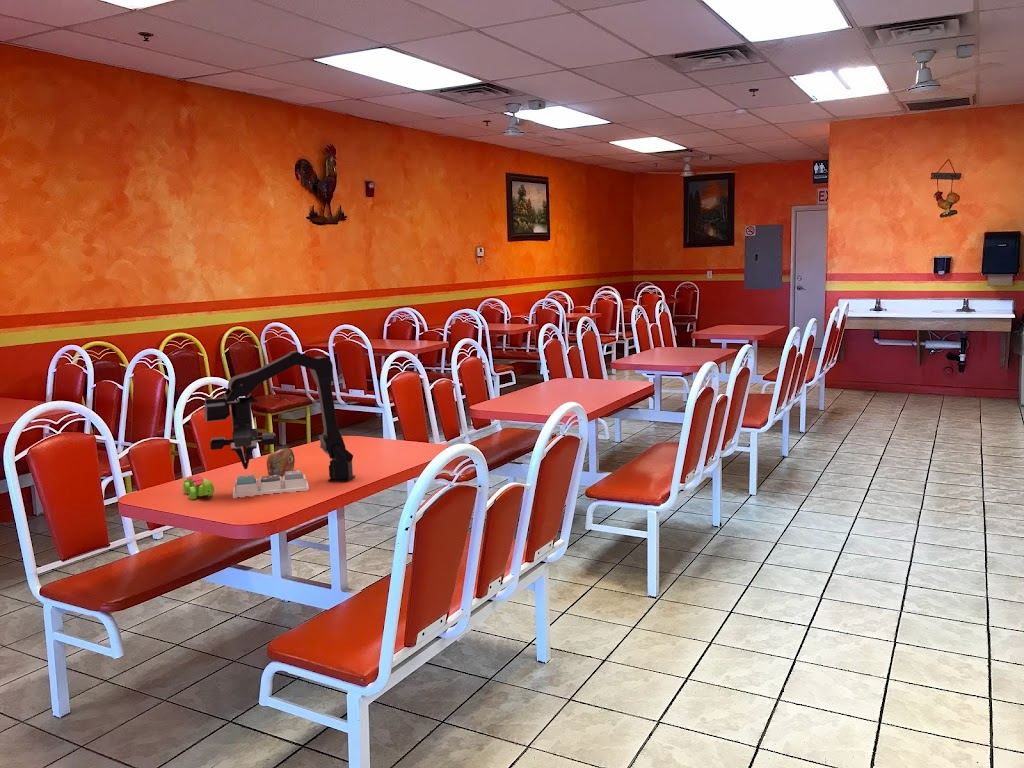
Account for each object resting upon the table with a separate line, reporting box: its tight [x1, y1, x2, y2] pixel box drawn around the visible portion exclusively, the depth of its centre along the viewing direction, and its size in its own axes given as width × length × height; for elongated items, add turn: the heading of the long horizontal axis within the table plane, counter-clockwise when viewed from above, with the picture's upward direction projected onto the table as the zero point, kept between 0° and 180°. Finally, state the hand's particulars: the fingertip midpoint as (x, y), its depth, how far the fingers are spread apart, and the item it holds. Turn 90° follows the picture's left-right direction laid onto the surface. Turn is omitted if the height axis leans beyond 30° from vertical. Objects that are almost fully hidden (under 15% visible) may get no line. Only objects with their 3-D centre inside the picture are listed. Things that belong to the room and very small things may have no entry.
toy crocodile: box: [182, 475, 215, 500], centre depth 254 cm, size 20×7×6 cm, turn 33°
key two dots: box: [285, 469, 303, 480], centre depth 258 cm, size 5×5×3 cm
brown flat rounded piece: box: [266, 447, 296, 478], centre depth 276 cm, size 15×3×8 cm, turn 168°
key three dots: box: [261, 475, 279, 482], centre depth 256 cm, size 5×5×3 cm
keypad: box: [232, 473, 310, 499], centre depth 256 cm, size 22×9×4 cm, turn 106°
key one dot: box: [236, 473, 256, 485], centre depth 254 cm, size 5×5×3 cm
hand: (245, 468), depth 253 cm, fingers closed
